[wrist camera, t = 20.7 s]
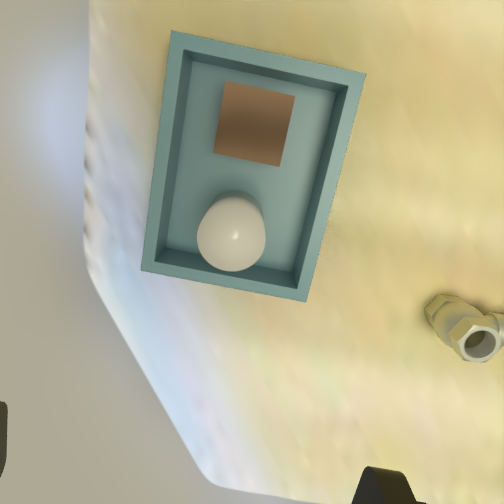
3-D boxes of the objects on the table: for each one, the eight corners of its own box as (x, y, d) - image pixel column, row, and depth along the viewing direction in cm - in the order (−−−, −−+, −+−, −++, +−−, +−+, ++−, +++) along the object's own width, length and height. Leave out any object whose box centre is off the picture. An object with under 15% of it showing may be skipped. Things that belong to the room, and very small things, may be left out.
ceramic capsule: (212, 185, 34) (201, 199, 27) (268, 195, 34) (271, 211, 27) (204, 239, 35) (192, 265, 29) (258, 249, 36) (258, 276, 29)
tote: (184, 46, 32) (171, 30, 27) (349, 83, 32) (366, 73, 27) (155, 253, 37) (140, 270, 32) (299, 281, 37) (305, 302, 32)
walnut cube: (230, 89, 32) (225, 80, 27) (289, 102, 32) (295, 96, 27) (219, 150, 33) (213, 152, 28) (276, 163, 33) (279, 167, 29)
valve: (414, 338, 39) (531, 349, 39) (445, 376, 33) (583, 390, 33) (429, 277, 37) (552, 289, 37) (465, 305, 31) (612, 320, 31)
